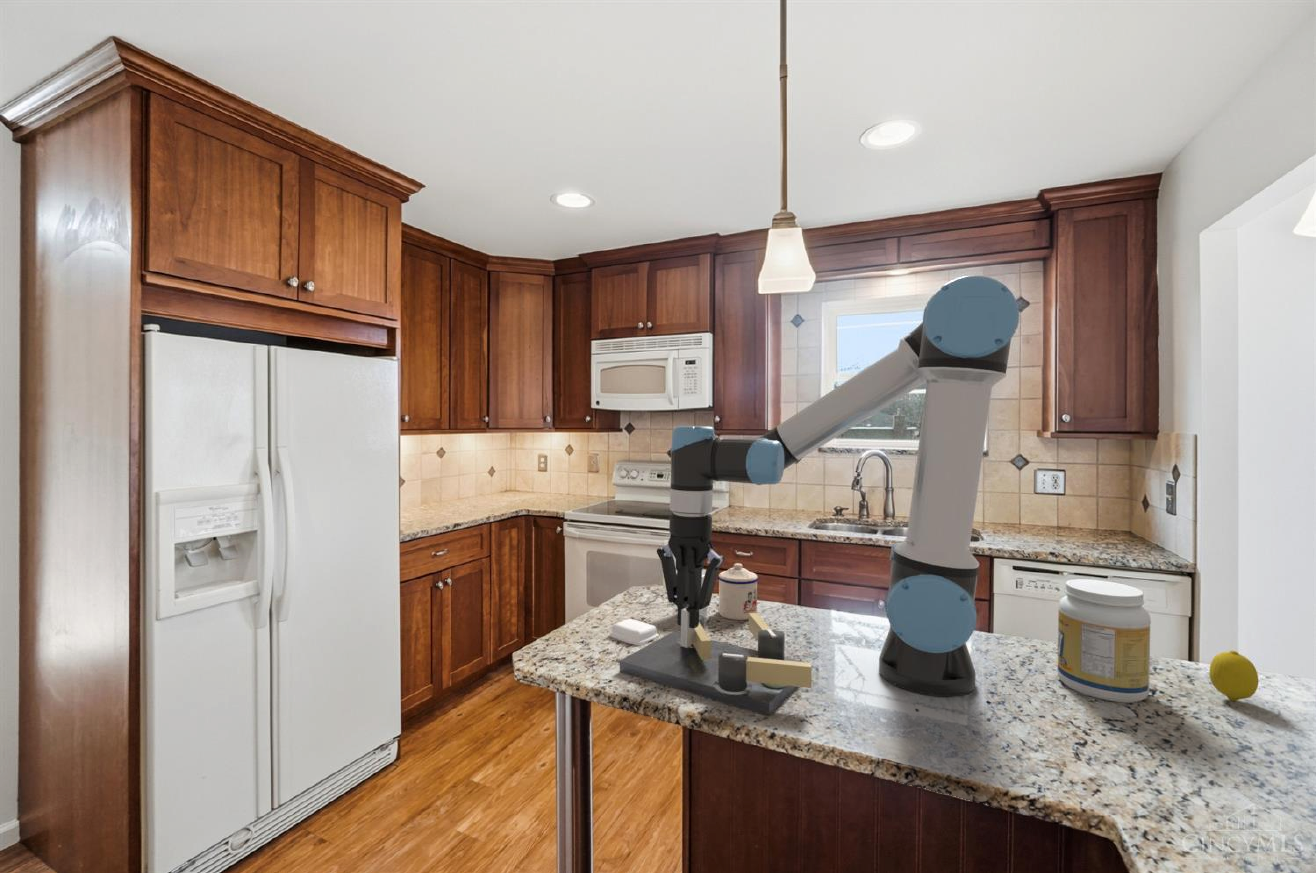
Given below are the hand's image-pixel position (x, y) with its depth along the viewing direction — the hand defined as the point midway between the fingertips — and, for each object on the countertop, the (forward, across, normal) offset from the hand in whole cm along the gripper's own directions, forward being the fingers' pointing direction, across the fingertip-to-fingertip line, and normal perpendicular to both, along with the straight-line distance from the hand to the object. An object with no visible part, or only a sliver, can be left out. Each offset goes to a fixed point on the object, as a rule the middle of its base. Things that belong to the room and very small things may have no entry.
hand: (687, 644), depth 104 cm
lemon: (+3, -78, -38) cm, 87 cm away
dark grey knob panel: (+4, -5, -1) cm, 7 cm away
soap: (+5, +17, -8) cm, 19 cm away
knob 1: (+2, 0, -3) cm, 4 cm away
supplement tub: (+3, -61, -32) cm, 69 cm away
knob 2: (+2, -10, -11) cm, 15 cm away
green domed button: (+2, -17, +1) cm, 17 cm away
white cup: (+5, +14, -26) cm, 30 cm away
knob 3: (+2, -17, +4) cm, 17 cm away
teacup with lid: (+5, +6, -34) cm, 35 cm away
